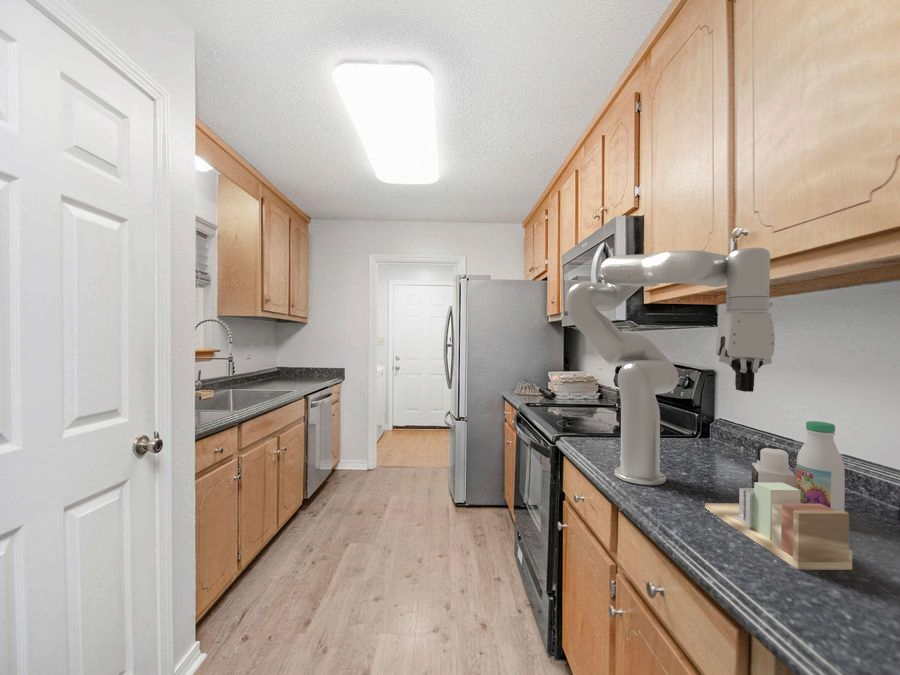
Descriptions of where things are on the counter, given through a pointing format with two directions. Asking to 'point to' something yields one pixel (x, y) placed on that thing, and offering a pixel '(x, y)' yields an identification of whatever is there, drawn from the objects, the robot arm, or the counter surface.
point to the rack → (799, 534)
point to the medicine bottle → (772, 466)
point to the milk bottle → (821, 468)
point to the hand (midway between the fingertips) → (744, 390)
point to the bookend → (746, 507)
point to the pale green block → (771, 503)
